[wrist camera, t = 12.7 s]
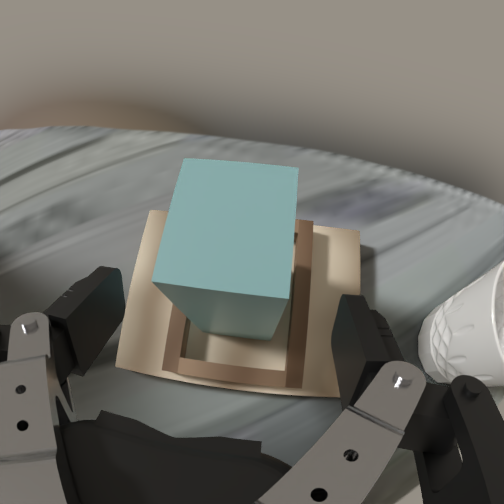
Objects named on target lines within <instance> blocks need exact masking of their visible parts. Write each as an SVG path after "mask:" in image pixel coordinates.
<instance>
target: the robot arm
mask: <svg viewBox="0 0 504 504" xmlns="http://www.w3.org/2000/svg"><path fill="white" fill-rule="evenodd" d="M124 314H125V299H124V292H123V284H122V275H121V272H120V270H119V269H118V268H111V267H104V266H100V267H98V268H97V269H96V270H95V271H94V272H93V273H91V274H90V275H89V276H88V277H86V278H84V279H82V280H80V281H78V282H76V283H75V284H74V285H73V286H71V287H70V288H69V290H68V291H66V292H65V293H64V294H63V295H62V296H60V297H59V298H58V299H57V300H56V301H55V302H54V303H53V304H52V305H51V306H50V307H49V308H48V309H47V310H46V311H45V312H44V313H39V312H30V313H26V314H23V315H21V316H19V317H18V318H16V319H15V320H14V321H13V323H12V325H0V504H361V503H362V502H363V500H364V499H365V498H366V496H367V495H368V493H369V492H370V490H371V489H372V487H373V486H374V484H375V483H376V481H377V480H378V478H379V477H380V475H381V473H382V472H383V470H384V468H385V467H386V465H387V464H388V462H389V460H390V459H391V457H392V455H393V453H394V452H395V450H396V448H397V447H398V448H403V449H408V450H413V452H414V456H415V461H416V466H417V471H418V476H419V481H420V487H421V492H422V498H423V504H504V420H503V418H502V416H501V414H500V412H499V410H498V408H497V406H496V404H495V402H494V400H493V398H492V396H491V394H490V392H489V390H488V388H487V387H486V385H485V384H484V383H483V382H482V381H480V380H479V379H477V378H475V377H473V376H469V375H460V376H457V377H455V378H454V379H453V381H452V382H451V384H450V386H449V387H446V386H441V385H436V384H431V383H428V382H426V378H425V376H424V374H423V373H422V371H421V370H420V369H418V368H417V367H416V366H414V365H412V364H410V363H408V362H405V361H404V359H403V356H402V354H401V352H400V350H399V347H398V345H397V343H396V341H395V339H394V338H393V334H392V332H391V330H389V326H388V324H387V322H386V319H385V318H384V317H383V316H382V315H381V314H380V313H378V312H377V311H376V310H370V309H369V307H368V304H367V302H366V300H365V298H364V296H363V295H350V294H342V296H341V298H340V301H339V305H338V310H337V314H336V318H335V322H334V326H333V330H332V335H331V349H332V354H333V359H334V365H335V370H336V376H337V381H338V387H339V393H340V398H341V404H342V410H343V412H342V413H341V415H340V416H339V417H338V418H337V419H336V421H335V422H334V423H333V424H332V425H331V426H330V428H329V429H328V430H327V431H326V432H325V433H324V434H323V436H322V437H321V438H320V439H319V440H318V441H317V442H316V443H315V444H314V445H313V447H312V448H311V449H310V450H309V451H308V452H307V453H306V454H305V455H304V456H303V457H302V458H301V459H300V460H299V461H298V462H297V463H296V464H295V465H294V466H293V467H291V466H289V465H288V464H286V463H284V462H282V461H281V460H279V459H276V458H274V457H272V456H269V455H266V454H263V453H261V443H262V441H251V440H242V439H233V438H226V437H199V438H174V437H171V436H168V435H166V434H164V433H162V432H160V431H158V430H156V429H153V428H151V427H149V426H147V425H145V424H143V423H141V422H139V421H137V420H134V419H131V418H127V417H123V416H120V415H116V414H113V413H109V412H106V411H103V410H101V412H100V414H99V416H98V418H97V419H96V420H82V421H78V420H77V415H76V411H75V406H74V402H73V397H72V392H71V386H70V382H69V379H68V375H69V374H70V373H74V374H77V375H80V376H84V375H85V373H86V372H87V370H88V369H89V367H90V366H91V364H92V363H93V361H94V360H95V358H96V357H97V356H98V354H99V353H100V351H101V350H102V348H103V347H104V345H105V344H106V343H107V341H108V340H109V338H110V337H111V336H112V334H113V333H114V331H115V330H116V329H117V327H118V326H119V324H120V323H121V322H122V320H123V318H124ZM457 443H458V445H459V448H460V450H461V454H462V459H463V461H462V460H461V457H460V454H459V450H458V447H457Z"/></svg>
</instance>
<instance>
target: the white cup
mask: <svg viewBox="0 0 504 504" xmlns="http://www.w3.org/2000/svg"><path fill="white" fill-rule="evenodd" d="M418 356H419V358H420V360H421V363H422V365H423V368H424V370H425V372H426V373H427V374H428V375H429V376H430V377H432V378H433V379H434V380H435V381H436V382H438V383H444V384H451V382H452V381H453V379H454V378H455V377H457V376H460V375H469V376H473V377H475V378H477V379H479V380H480V381H482V382H483V383H484V384H485V385H486V387H488V386H504V260H503V261H502V262H500V263H499V264H498V265H496V266H495V267H494V268H492V269H491V270H489V271H488V272H487V273H485V274H484V275H482V276H481V277H479V278H478V279H476V280H475V281H473V282H472V283H470V284H469V285H467V286H466V287H465V288H463V289H462V290H461V291H459V292H457V293H456V294H454V295H453V296H452V297H451V298H449V299H448V300H447V301H446V302H444V303H442V304H440V305H439V306H437V307H435V308H434V309H433V311H432V312H431V313H430V314H429V315H428V316H427V317H426V318H425V319H424V321H423V324H422V327H421V330H420V332H419V335H418Z"/></svg>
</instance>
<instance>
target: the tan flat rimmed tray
mask: <svg viewBox="0 0 504 504" xmlns="http://www.w3.org/2000/svg"><path fill="white" fill-rule="evenodd" d="M168 212H169V211H158V210H150V212H149V216H148V219H147V223H146V227H145V230H144V234H143V237H142V241H141V245H140V249H139V253H138V257H137V261H136V265H135V269H134V273H133V277H132V282H131V286H130V290H129V295H128V300H127V304H126V309H125V314H124V319H123V324H122V329H121V335H120V340H119V346H118V352H117V358H116V364H115V367H119V368H123V369H127V370H131V371H135V372H140V373H144V374H149V375H153V376H158V377H163V378H168V379H173V380H178V381H184V382H189V383H195V384H201V385H207V386H214V387H221V388H228V389H236V390H244V391H252V392H262V393H272V394H284V395H298V396H317V397H340V393H339V387H338V381H337V376H336V370H335V365H334V359H333V354H332V349H331V335H332V330H333V326H334V322H335V318H336V314H337V310H338V305H339V301H340V298H341V296H342V294H350V295H360V231H357V230H349V229H340V228H332V227H324V226H315V225H313V221H307V220H298V219H295V231H294V244H293V257H292V269H291V281H290V292H289V300H288V302H287V304H286V307H285V309H284V311H283V314H282V316H281V318H280V321H279V323H278V325H277V327H276V330H275V332H274V334H273V336H272V339H271V341H266V340H258V339H249V338H241V337H233V336H226V335H219V334H212V333H205V332H202V331H201V330H200V329H199V328H198V327H197V326H196V325H195V324H194V323H193V322H192V321H191V320H189V319H188V318H187V317H186V316H185V315H184V314H183V313H182V312H181V311H180V310H179V309H178V308H177V307H176V306H175V305H174V304H173V303H172V302H171V301H170V300H169V299H168V298H167V297H166V296H165V295H164V294H163V293H162V292H161V291H160V290H159V289H158V288H157V287H156V286H155V285H154V284H153V283H152V282H151V280H152V276H153V271H154V267H155V263H156V259H157V254H158V250H159V246H160V242H161V238H162V234H163V231H164V227H165V223H166V219H167V215H168Z"/></svg>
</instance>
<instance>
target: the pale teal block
mask: <svg viewBox="0 0 504 504" xmlns="http://www.w3.org/2000/svg"><path fill="white" fill-rule="evenodd" d="M297 185H298V168H296V167H287V166H278V165H268V164H258V163H247V162H235V161H222V160H207V159H189V158H184V161H183V164H182V167H181V170H180V174H179V177H178V180H177V184H176V187H175V190H174V194H173V197H172V201H171V205H170V208H169V212H168V215H167V219H166V223H165V227H164V231H163V234H162V238H161V242H160V246H159V250H158V254H157V259H156V263H155V267H154V271H153V276H152V280H151V282H152V283H153V284H154V285H155V286H156V287H157V288H158V289H159V290H160V291H161V292H162V293H163V294H164V295H165V296H166V297H167V298H168V299H169V300H170V301H171V302H172V303H173V304H174V305H175V306H176V307H177V308H178V309H179V310H180V311H181V312H182V313H183V314H184V315H185V316H186V317H187V318H188V319H189V320H191V321H192V322H193V323H194V324H195V325H196V326H197V327H198V328H199V329H200V330H201V331H202V332H205V333H212V334H219V335H226V336H233V337H241V338H249V339H258V340H266V341H271V339H272V336H273V334H274V332H275V330H276V327H277V325H278V323H279V321H280V318H281V316H282V314H283V311H284V309H285V307H286V304H287V302H288V300H289V292H290V281H291V269H292V257H293V244H294V231H295V216H296V201H297Z"/></svg>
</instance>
